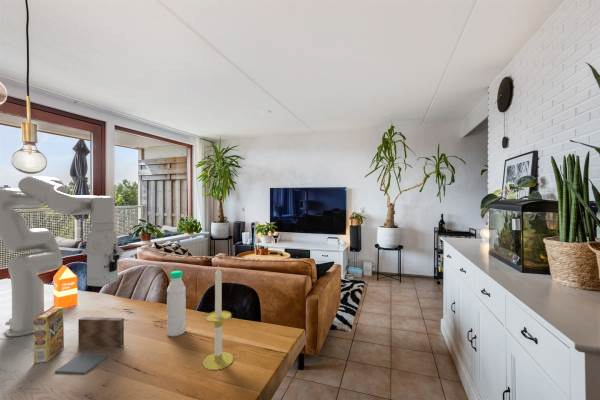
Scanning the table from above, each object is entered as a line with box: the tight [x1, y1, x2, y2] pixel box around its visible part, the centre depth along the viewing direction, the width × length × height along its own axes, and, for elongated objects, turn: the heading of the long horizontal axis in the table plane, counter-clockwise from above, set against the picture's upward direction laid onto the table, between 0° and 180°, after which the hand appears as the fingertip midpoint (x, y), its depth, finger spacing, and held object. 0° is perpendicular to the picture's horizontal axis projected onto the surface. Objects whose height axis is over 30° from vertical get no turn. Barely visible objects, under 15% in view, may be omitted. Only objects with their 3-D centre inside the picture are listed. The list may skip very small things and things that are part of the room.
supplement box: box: [86, 251, 119, 287], centre depth 108 cm, size 7×7×13 cm
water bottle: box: [166, 270, 187, 337], centre depth 111 cm, size 7×7×25 cm
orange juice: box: [52, 264, 78, 309], centre depth 140 cm, size 8×9×20 cm
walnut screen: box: [77, 316, 125, 349], centre depth 101 cm, size 16×2×10 cm, turn 87°
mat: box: [54, 352, 111, 375], centre depth 90 cm, size 10×10×1 cm
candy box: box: [33, 306, 65, 364], centre depth 94 cm, size 9×4×15 cm, turn 13°
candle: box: [202, 264, 234, 371], centre depth 91 cm, size 10×10×32 cm
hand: (102, 270), depth 108 cm, fingers closed on supplement box, 7 cm apart
